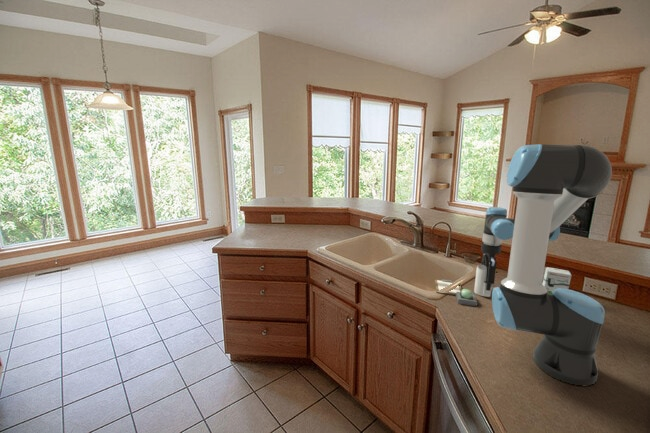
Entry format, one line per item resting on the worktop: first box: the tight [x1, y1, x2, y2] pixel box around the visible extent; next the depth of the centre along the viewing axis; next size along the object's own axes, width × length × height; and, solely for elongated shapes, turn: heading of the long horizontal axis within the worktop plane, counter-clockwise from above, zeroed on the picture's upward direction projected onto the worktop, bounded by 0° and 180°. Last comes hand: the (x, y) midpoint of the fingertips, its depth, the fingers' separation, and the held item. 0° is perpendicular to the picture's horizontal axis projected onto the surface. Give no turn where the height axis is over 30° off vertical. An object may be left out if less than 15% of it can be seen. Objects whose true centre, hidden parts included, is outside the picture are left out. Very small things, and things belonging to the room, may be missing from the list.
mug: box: [473, 264, 487, 297], centre depth 134 cm, size 10×7×12 cm, turn 119°
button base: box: [455, 291, 478, 307], centre depth 128 cm, size 7×7×2 cm
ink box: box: [542, 266, 572, 295], centre depth 132 cm, size 9×5×12 cm, turn 62°
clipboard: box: [434, 279, 463, 297], centre depth 139 cm, size 13×11×1 cm
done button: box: [461, 288, 473, 300], centre depth 127 cm, size 4×4×3 cm
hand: (484, 291), depth 135 cm, fingers closed on mug, 7 cm apart
